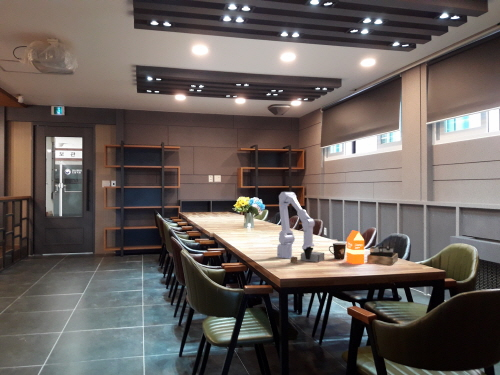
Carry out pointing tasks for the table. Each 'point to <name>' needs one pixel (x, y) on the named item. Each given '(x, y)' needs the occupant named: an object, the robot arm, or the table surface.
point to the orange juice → (355, 248)
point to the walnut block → (293, 260)
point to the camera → (381, 251)
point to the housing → (320, 255)
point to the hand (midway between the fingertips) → (307, 259)
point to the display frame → (383, 259)
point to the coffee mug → (338, 250)
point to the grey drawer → (312, 258)
